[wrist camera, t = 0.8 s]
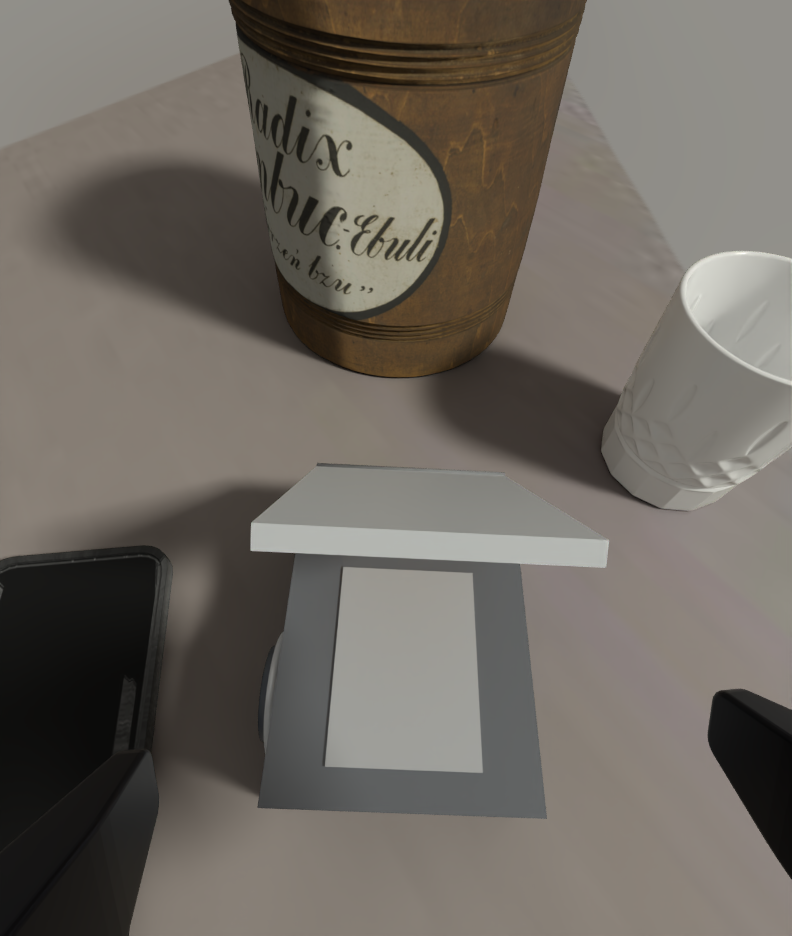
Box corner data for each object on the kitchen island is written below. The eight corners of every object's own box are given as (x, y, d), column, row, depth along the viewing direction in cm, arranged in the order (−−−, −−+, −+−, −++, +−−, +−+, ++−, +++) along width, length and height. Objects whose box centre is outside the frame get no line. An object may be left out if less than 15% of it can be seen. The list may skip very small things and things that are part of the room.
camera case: (511, 815, 19) (547, 818, 15) (263, 805, 19) (235, 807, 15) (490, 541, 25) (513, 493, 21) (302, 532, 25) (290, 482, 21)
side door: (605, 572, 11) (609, 535, 11) (250, 555, 11) (251, 518, 11) (500, 490, 21) (502, 471, 21) (318, 481, 21) (318, 462, 21)
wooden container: (238, 285, 34) (87, -311, 16) (404, 209, 40) (434, -294, 22) (381, 421, 29) (404, -261, 10) (551, 311, 34) (761, -256, 16)
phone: (-175, 1050, 15) (-14, 558, 23) (-142, 1035, 16) (1, 568, 24) (115, 1001, 15) (172, 542, 23) (130, 990, 16) (180, 552, 24)
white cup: (696, 552, 25) (861, 428, 17) (561, 458, 28) (644, 310, 19) (759, 458, 28) (922, 314, 20) (632, 381, 31) (729, 227, 23)
